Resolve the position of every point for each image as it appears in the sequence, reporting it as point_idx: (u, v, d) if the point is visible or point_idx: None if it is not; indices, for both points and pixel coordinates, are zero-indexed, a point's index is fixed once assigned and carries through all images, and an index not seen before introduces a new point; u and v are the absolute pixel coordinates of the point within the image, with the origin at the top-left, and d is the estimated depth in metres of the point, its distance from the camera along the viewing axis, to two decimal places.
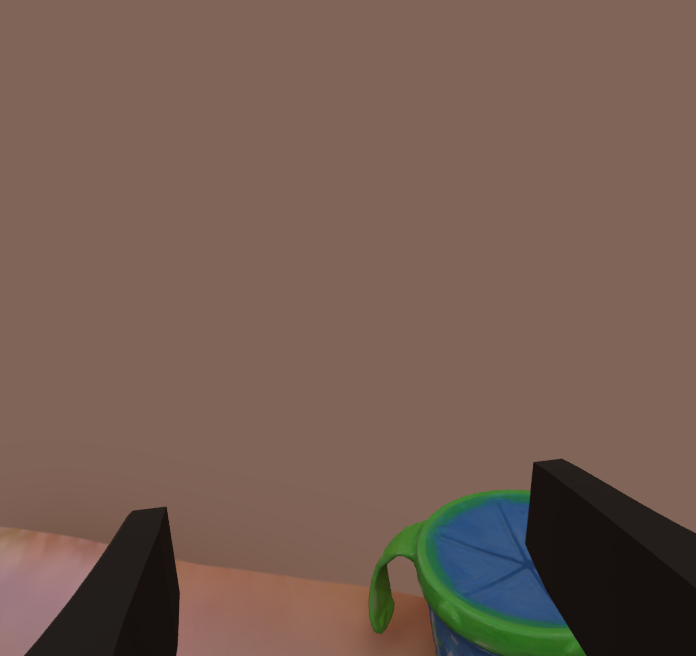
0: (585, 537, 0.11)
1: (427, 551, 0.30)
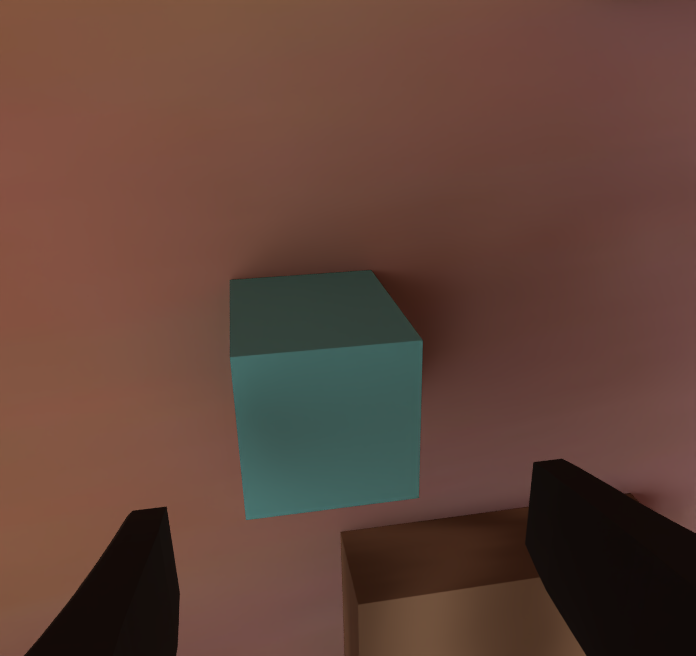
0: (585, 537, 0.11)
1: None
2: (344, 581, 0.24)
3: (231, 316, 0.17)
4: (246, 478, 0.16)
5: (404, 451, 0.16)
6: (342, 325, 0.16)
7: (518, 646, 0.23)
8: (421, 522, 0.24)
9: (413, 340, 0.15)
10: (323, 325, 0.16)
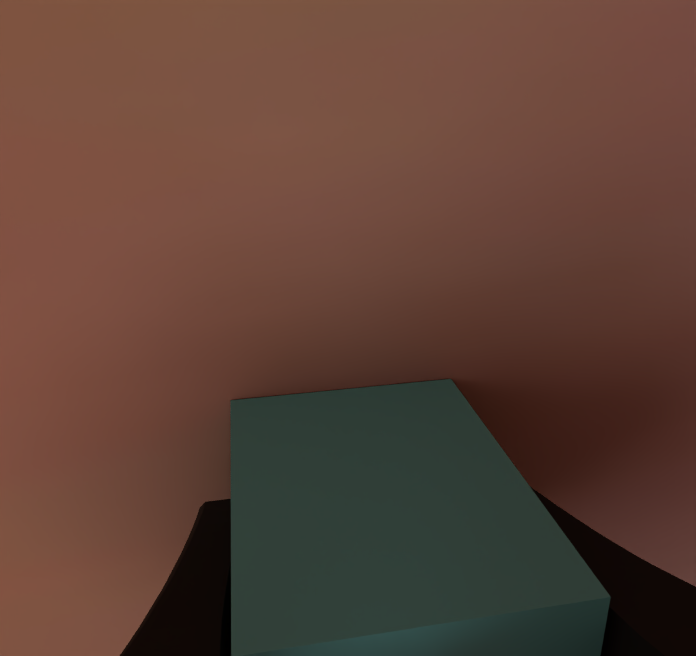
0: None
1: None
2: None
3: (233, 505, 0.09)
4: None
5: None
6: (439, 540, 0.09)
7: None
8: None
9: (591, 596, 0.08)
10: (403, 538, 0.09)
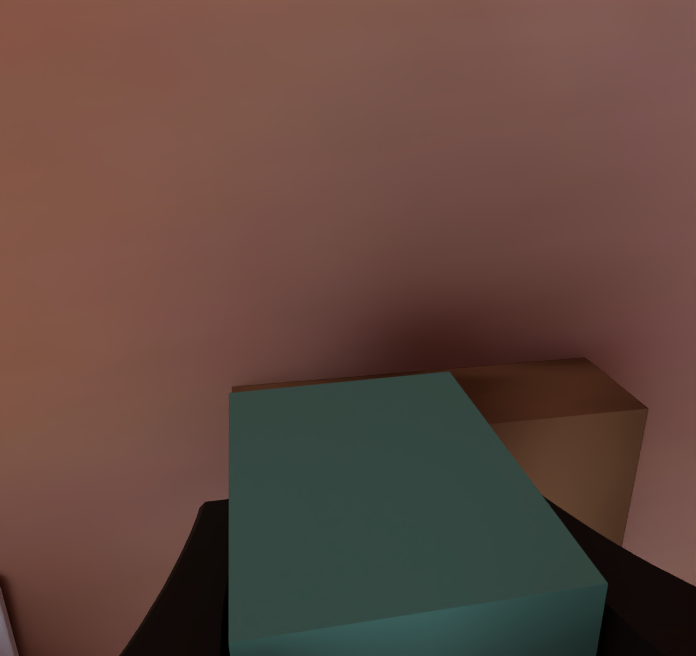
0: None
1: None
2: None
3: (231, 495, 0.09)
4: None
5: None
6: (437, 529, 0.09)
7: None
8: (331, 379, 0.20)
9: (589, 583, 0.08)
10: (400, 527, 0.09)
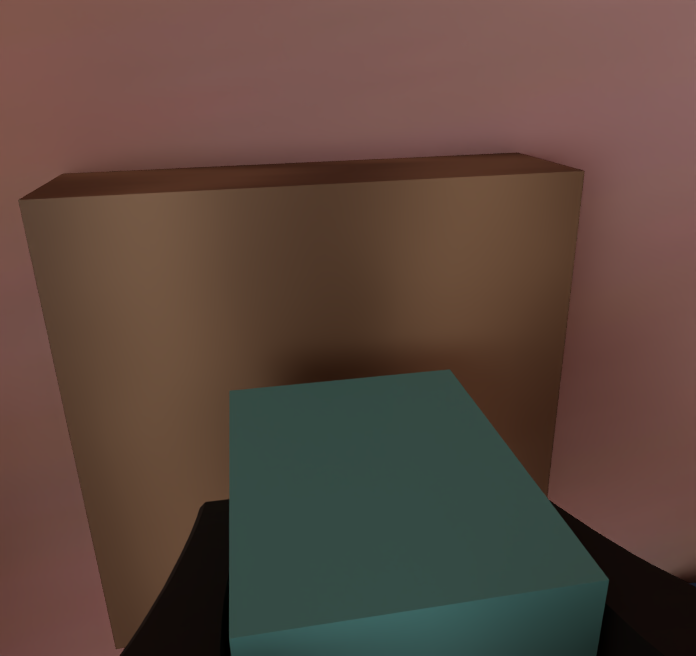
0: None
1: None
2: None
3: (232, 492, 0.09)
4: None
5: None
6: (438, 525, 0.09)
7: (317, 322, 0.15)
8: None
9: (590, 579, 0.08)
10: (401, 524, 0.09)
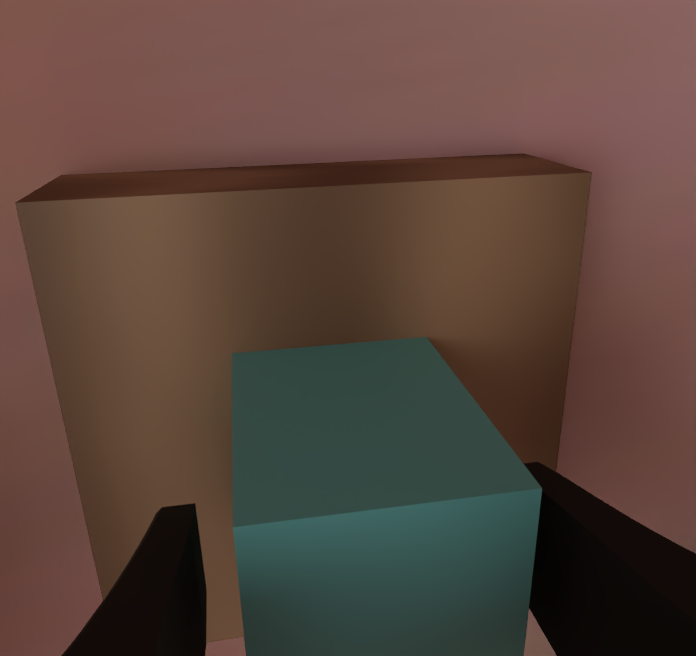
0: (557, 541, 0.11)
1: None
2: None
3: (234, 428, 0.11)
4: None
5: (501, 645, 0.10)
6: (406, 452, 0.10)
7: (319, 327, 0.14)
8: (192, 169, 0.16)
9: (527, 488, 0.09)
10: (376, 450, 0.10)
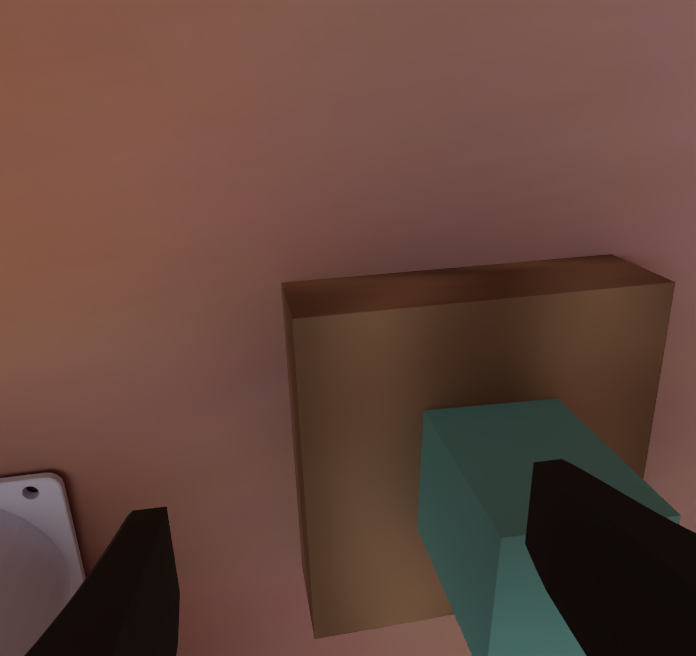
0: (584, 537, 0.11)
1: None
2: (286, 338, 0.21)
3: (462, 470, 0.17)
4: (493, 646, 0.15)
5: None
6: None
7: (482, 394, 0.20)
8: None
9: (671, 515, 0.15)
10: None
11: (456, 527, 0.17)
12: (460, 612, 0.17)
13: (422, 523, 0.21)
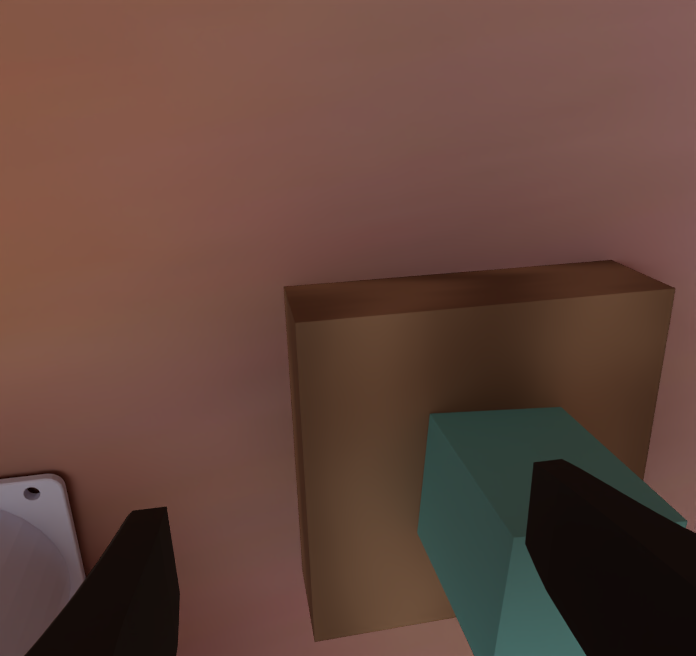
0: (585, 537, 0.11)
1: None
2: (288, 342, 0.21)
3: (471, 472, 0.17)
4: (500, 648, 0.15)
5: None
6: None
7: (483, 398, 0.20)
8: (375, 279, 0.22)
9: (678, 520, 0.15)
10: None
11: (463, 530, 0.17)
12: (463, 615, 0.17)
13: (423, 528, 0.21)
